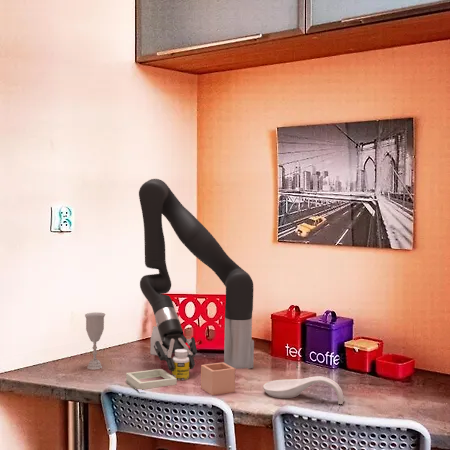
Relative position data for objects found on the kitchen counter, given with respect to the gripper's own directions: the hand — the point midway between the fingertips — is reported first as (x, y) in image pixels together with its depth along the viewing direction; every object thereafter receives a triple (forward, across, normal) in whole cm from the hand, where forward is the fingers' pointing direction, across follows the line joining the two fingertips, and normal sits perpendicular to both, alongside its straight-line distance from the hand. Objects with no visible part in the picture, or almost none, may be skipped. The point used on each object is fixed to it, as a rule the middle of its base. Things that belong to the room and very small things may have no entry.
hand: (182, 368), depth 213 cm
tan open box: (+13, +5, -7) cm, 16 cm away
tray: (+2, -10, +4) cm, 11 cm away
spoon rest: (+24, +25, -18) cm, 39 cm away
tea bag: (-21, +7, +28) cm, 36 cm away
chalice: (-16, -20, +23) cm, 34 cm away
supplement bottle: (+2, 0, +4) cm, 5 cm away
